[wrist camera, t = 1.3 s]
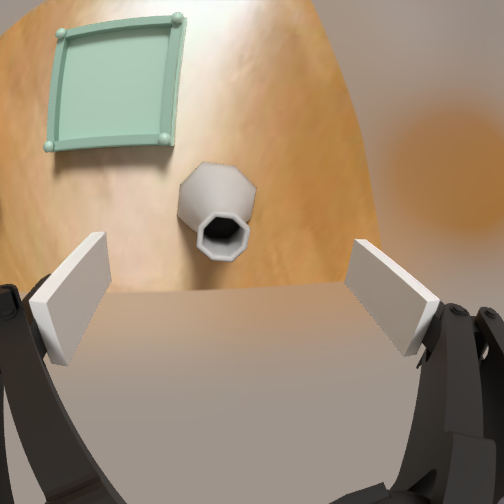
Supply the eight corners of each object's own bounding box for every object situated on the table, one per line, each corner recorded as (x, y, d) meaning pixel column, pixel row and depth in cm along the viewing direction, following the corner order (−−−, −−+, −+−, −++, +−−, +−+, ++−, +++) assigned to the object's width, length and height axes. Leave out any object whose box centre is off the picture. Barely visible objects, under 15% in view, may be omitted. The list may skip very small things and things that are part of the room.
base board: (55, 151, 21) (42, 154, 19) (67, 35, 17) (55, 28, 14) (174, 145, 24) (171, 146, 21) (187, 22, 19) (185, 11, 17)
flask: (164, 219, 26) (145, 265, 17) (198, 148, 24) (194, 155, 15) (233, 249, 28) (248, 306, 19) (269, 183, 26) (304, 210, 17)
